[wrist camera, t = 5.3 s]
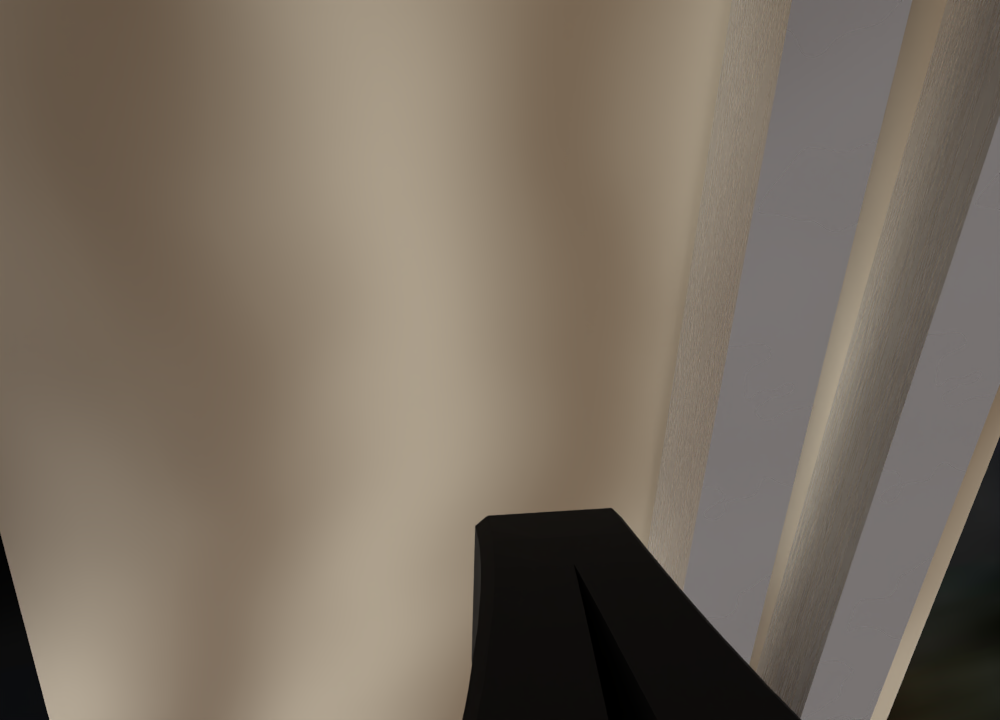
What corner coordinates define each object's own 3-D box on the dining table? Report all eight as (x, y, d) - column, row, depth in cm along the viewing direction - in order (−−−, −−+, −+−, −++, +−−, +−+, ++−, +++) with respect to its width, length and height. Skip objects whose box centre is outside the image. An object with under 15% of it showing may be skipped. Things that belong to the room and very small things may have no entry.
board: (126, 928, 25) (117, 976, 24) (-196, -403, 11) (-253, -424, 10) (796, 861, 28) (813, 901, 27) (1213, -267, 14) (1282, -272, 13)
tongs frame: (564, 926, 26) (583, 1023, 24) (759, -202, 12) (840, -203, 10) (758, 905, 27) (792, 997, 25) (1134, -172, 13) (1276, -168, 11)
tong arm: (602, 841, 24) (622, 927, 22) (762, -197, 12) (832, -196, 11) (727, 828, 24) (758, 910, 22) (993, -185, 13) (1098, -184, 11)
